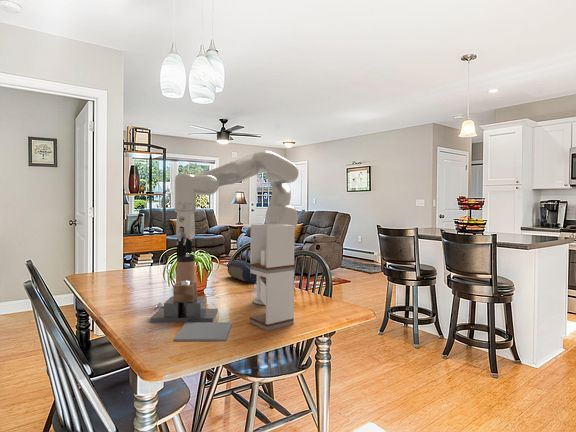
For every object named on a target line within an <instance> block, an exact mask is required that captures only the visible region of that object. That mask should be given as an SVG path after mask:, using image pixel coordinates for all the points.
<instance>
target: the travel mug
mask: <svg viewBox="0 0 576 432" xmlns="http://www.w3.org/2000/svg"><path fill="white" fill-rule="evenodd" d="M183 280H189V281H190V282H196V255H195V254H193V253H186V256H177V255H176V283H178V282H181V281H183Z"/></svg>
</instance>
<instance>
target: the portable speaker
mask: <svg viewBox="0 0 576 432" xmlns="http://www.w3.org/2000/svg"><path fill="white" fill-rule="evenodd" d="M227 273H228V275H229V276H231V277H232V278H235V279H237V280H240V281H242V282H246V283H248V284H252V283H253V284H254V283H257V275H256V274H252V273H250V263H249V262H246V261H244V260H239V259H235V260H232V261H230V262H229V264H228V266H227Z"/></svg>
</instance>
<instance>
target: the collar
mask: <svg viewBox="0 0 576 432" xmlns="http://www.w3.org/2000/svg"><path fill="white" fill-rule="evenodd" d="M172 296H173V302H194V300H195V299H196V298H197V296H198V281H195V282H190V285H181V282H178V283H177V282H176V283H175V284H174V285H173V295H172Z"/></svg>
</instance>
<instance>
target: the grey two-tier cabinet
mask: <svg viewBox="0 0 576 432" xmlns="http://www.w3.org/2000/svg"><path fill="white" fill-rule="evenodd" d="M295 232H296V229H295V225H285V224H267V223H263V224H262V223H260V224H250V256H249V257H250V273H252V274H256V275H259V276H260V298H261V301H262V302H263V303H264V304H265V305H264V306H265V313H261V314H257V315H252V316H249V323H250V324H251V325H254V326H257V327H259V328H261V329H263V330H265V331H271V330H275V329H279V328H282V327H286V326H287V327H288V326H291V325H295V324H294V321H295V320H294V315H295V314H294V312H295V311H294V308H295V305H294V304H295V301H294V300H295V234H296V233H295Z"/></svg>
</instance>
